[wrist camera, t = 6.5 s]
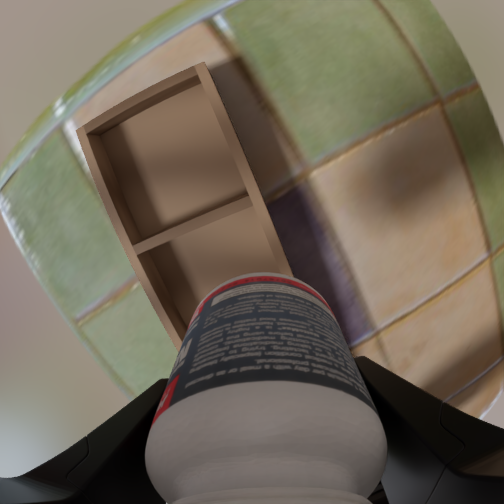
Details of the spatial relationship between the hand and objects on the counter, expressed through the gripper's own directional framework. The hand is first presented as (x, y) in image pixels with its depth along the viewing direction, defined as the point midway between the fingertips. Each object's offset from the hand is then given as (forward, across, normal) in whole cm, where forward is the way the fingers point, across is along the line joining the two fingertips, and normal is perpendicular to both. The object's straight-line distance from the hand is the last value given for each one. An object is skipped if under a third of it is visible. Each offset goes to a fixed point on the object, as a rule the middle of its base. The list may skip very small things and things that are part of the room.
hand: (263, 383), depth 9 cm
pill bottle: (+3, 0, 0) cm, 3 cm away
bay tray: (+12, +3, +1) cm, 13 cm away
